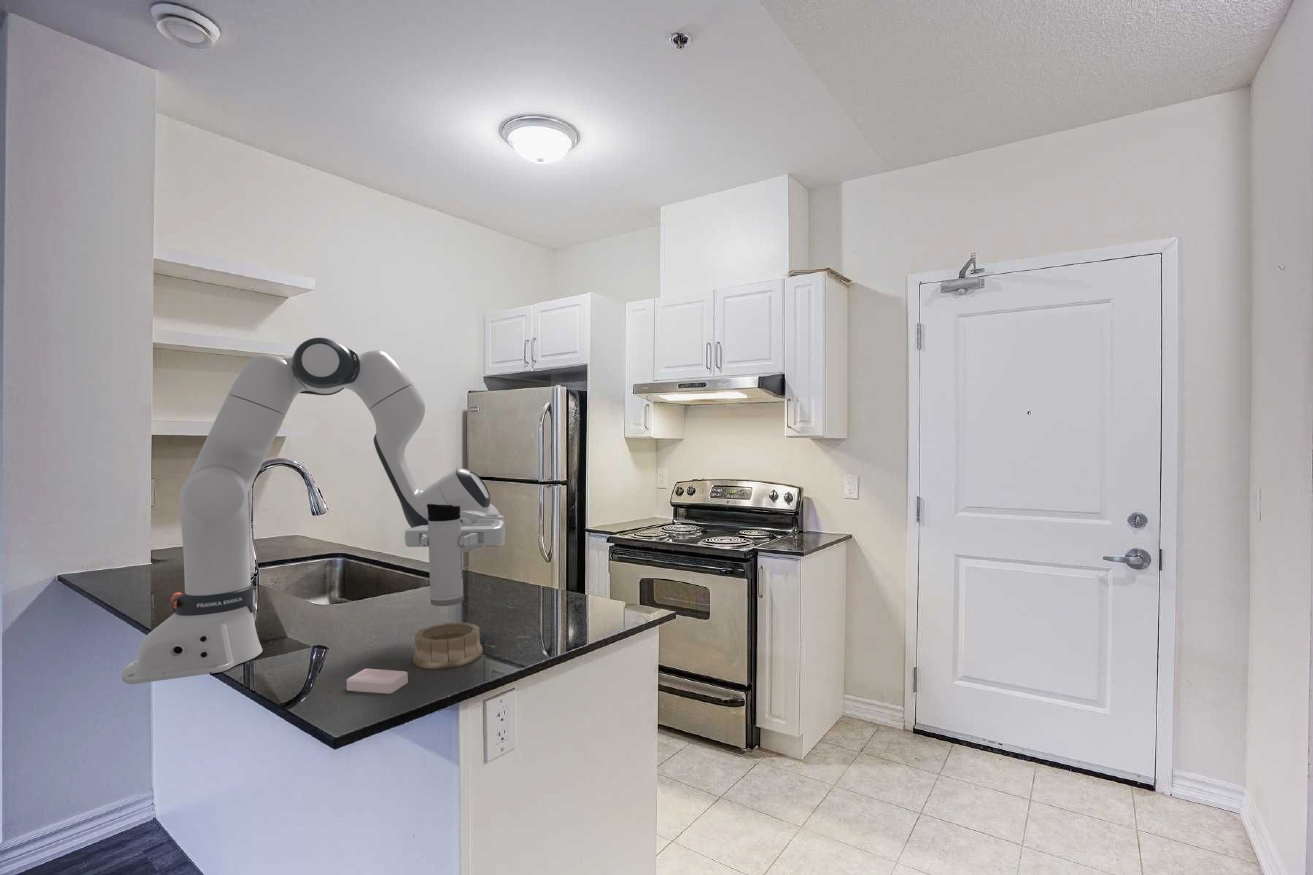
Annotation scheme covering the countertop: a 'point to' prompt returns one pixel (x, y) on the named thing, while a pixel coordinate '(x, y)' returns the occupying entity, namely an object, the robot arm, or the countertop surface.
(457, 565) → the travel mug
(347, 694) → the countertop surface
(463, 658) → the cup holder
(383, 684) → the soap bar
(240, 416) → the robot arm
